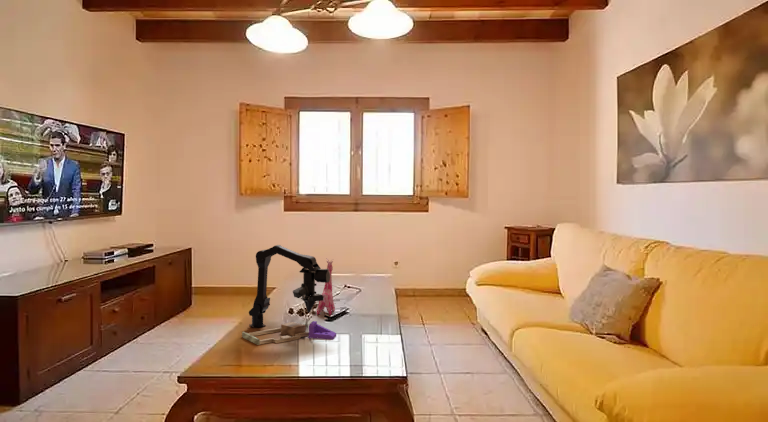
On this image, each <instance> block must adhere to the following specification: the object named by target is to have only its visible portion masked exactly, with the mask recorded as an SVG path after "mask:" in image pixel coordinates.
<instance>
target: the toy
mask: <svg viewBox="0 0 768 422" xmlns="http://www.w3.org/2000/svg"><path fill="white" fill-rule="evenodd" d="M333 262H334V261H333V260H329V259H328V258H326V263H327V265H326V269H329V273H330V281H329V282H328V283H324V286H323V291H322V293H321V295H323V296H324V300H323V301H318V306H317V308H316V315H320V314H321V312H322V311H324V310H325V308H326V312H327V314H328V316H331V315H332V312H334V311H335V310H336V306H335V302H334V296H333V282H332V281H333V280H332V277H333V276H332V274H333V273H332V272H333V267H334V266H333Z"/></svg>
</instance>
